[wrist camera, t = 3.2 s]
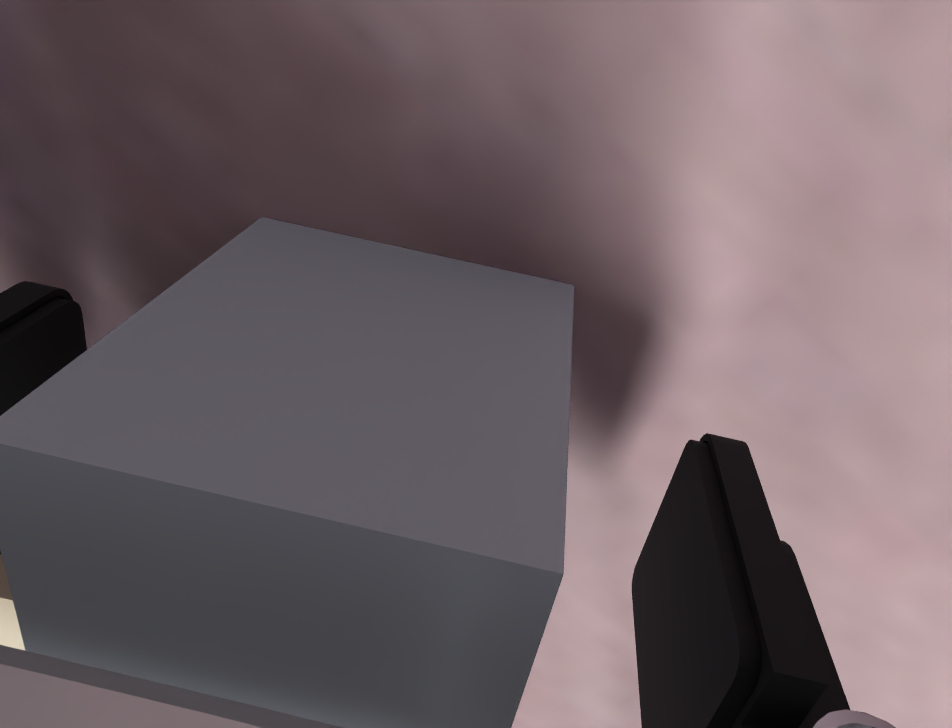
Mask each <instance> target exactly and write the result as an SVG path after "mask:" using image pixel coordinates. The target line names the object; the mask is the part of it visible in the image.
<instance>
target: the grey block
mask: <svg viewBox="0 0 952 728" xmlns="http://www.w3.org/2000/svg"><path fill="white" fill-rule="evenodd" d="M573 304H574V285H572V284H567V283H563V282H558V281H553V280H549V279H544V278H540V277H535V276H530V275H526V274H521V273H517V272H512V271H508V270H503V269H498V268H494V267H489V266H485V265H480V264H475V263H471V262H466V261H462V260H457V259H453V258H448V257H443V256H439V255H434V254H430V253H425V252H420V251H416V250H411V249H407V248H402V247H398V246H393V245H388V244H384V243H379V242H375V241H370V240H365V239H361V238H356V237H352V236H347V235H343V234H338V233H333V232H329V231H324V230H320V229H315V228H310V227H306V226H301V225H297V224H292V223H288V222H283V221H278V220H274V219H269V218H265V217H261V218H259V219H258V220H257V221H256V222H254V223H253V224H252V225H250V226H249V227H248V228H246V229H245V230H244V231H242V232H241V233H240V234H238V235H237V236H236V237H235V238H233V239H232V240H231V241H229V242H228V243H227V244H225V245H224V246H223V247H221V248H220V249H219V250H217V251H216V252H215V253H214V254H212V255H211V256H210V257H208V258H207V259H206V260H204V261H203V262H202V263H200V264H199V265H198V266H196V267H195V268H194V269H193V270H191V271H190V272H189V273H187V274H186V275H185V276H183V277H182V278H181V279H179V280H178V281H177V282H175V283H174V284H173V285H172V286H170V287H169V288H168V289H166V290H165V291H164V292H162V293H161V294H160V295H158V296H157V297H156V298H154V299H153V300H152V301H151V302H149V303H148V304H147V305H145V306H144V307H143V308H141V309H140V310H139V311H137V312H136V313H135V314H133V315H132V316H131V317H130V318H128V319H127V320H126V321H124V322H123V323H122V324H120V325H119V326H118V327H116V328H115V329H114V330H112V331H111V332H110V333H109V334H107V335H106V336H105V337H103V338H102V339H101V340H99V341H98V342H97V343H95V344H94V345H93V346H91V347H90V348H89V349H88V350H86V351H85V352H84V353H82V354H81V355H80V356H78V357H77V358H76V359H74V360H73V361H72V362H70V363H69V364H68V365H67V366H65V367H64V368H63V369H61V370H60V371H59V372H57V373H56V374H55V375H53V376H52V377H51V378H49V379H48V380H47V381H46V382H44V383H43V384H42V385H40V386H39V387H38V388H36V389H35V390H34V391H32V392H31V393H30V394H28V395H27V396H26V397H25V398H23V399H22V400H21V401H19V402H18V403H17V404H15V405H14V406H13V407H11V408H10V409H9V410H7V411H6V412H5V413H4V414H2V415H1V416H0V551H1V555H2V559H3V563H4V567H5V571H6V575H7V579H8V583H9V587H10V591H11V595H12V599H13V603H14V607H15V611H16V615H17V619H18V623H19V627H20V631H21V635H22V639H23V643H24V647H25V651H29V652H33V653H37V654H42V655H46V656H50V657H54V658H58V659H62V660H66V661H71V662H75V663H79V664H83V665H87V666H91V667H96V668H100V669H104V670H108V671H112V672H116V673H121V674H125V675H129V676H133V677H137V678H141V679H146V680H150V681H154V682H158V683H162V684H166V685H170V686H175V687H179V688H183V689H187V690H191V691H195V692H199V693H203V694H208V695H212V696H216V697H220V698H224V699H228V700H232V701H236V702H241V703H245V704H249V705H253V706H257V707H261V708H265V709H269V710H274V711H278V712H282V713H286V714H290V715H294V716H298V717H302V718H306V719H310V720H314V721H318V722H322V723H326V724H330V725H334V726H339V727H343V728H511V726H512V723H513V720H514V718H515V715H516V712H517V709H518V706H519V703H520V700H521V697H522V694H523V691H524V688H525V685H526V682H527V679H528V677H529V674H530V671H531V668H532V665H533V662H534V659H535V656H536V653H537V650H538V647H539V644H540V641H541V638H542V635H543V633H544V630H545V627H546V624H547V621H548V618H549V615H550V612H551V609H552V606H553V603H554V600H555V597H556V594H557V592H558V589H559V586H560V583H561V580H562V577H563V574H564V547H565V520H566V493H567V466H568V439H569V412H570V385H571V358H572V331H573Z"/></svg>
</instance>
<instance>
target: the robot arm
mask: <svg viewBox="0 0 952 728" xmlns="http://www.w3.org/2000/svg"><path fill="white" fill-rule="evenodd" d="M86 350H87V347H86V339H85V331H84V324H83V316H82V311H81V307H80V306H79V304H78V303H76V302H75V301H73V299H72V297H71V295H70V294H69V292H67V291H66V290H64V289H60V288H56V287H51V286H47V285H42V284H38V283H33V282H26V281H24V282H21V283H18V284H16V285H14V286H13V287H11V288H9V289H7V290H5V291H3V292H2V293H0V416H1V415H2V414H4V413H5V412H6V411H7V410H9V409H10V408H11V407H13V406H14V405H15V404H17V403H18V402H19V401H21V400H22V399H23V398H25V397H26V396H27V395H28V394H30V393H31V392H32V391H34V390H35V389H36V388H38V387H39V386H40V385H42V384H43V383H44V382H46V381H47V380H48V379H49V378H51V377H52V376H53V375H55V374H56V373H57V372H59V371H60V370H61V369H63V368H64V367H65V366H67V365H68V364H69V363H70V362H72V361H73V360H74V359H76V358H77V357H78V356H80V355H81V354H82V353H84V352H85V351H86ZM0 555H1V551H0ZM632 600H633V613H634V627H635V640H636V654H637V668H638V681H639V695H640V708H641V722H642V728H896V727H894V726H893V725H891V724H890V723H888V722H887V721H884V720H882V719H879V718H877V717H875V716H872V715H870V714H867V713H864V712H858V711H852V710H850V708H849V705H848V702H847V699H846V696H845V694H844V691H843V688H842V685H841V682H840V680H839V677H838V674H837V671H836V668H835V666H834V663H833V660H832V657H831V654H830V652H829V649H828V646H827V643H826V640H825V638H824V635H823V632H822V629H821V626H820V624H819V621H818V618H817V615H816V612H815V610H814V607H813V604H812V601H811V598H810V596H809V593H808V590H807V587H806V584H805V582H804V579H803V576H802V573H801V570H800V568H799V565H798V562H797V559H796V556H795V554H794V552H793V550H792V548H791V546H790V545H788V544H787V543H786V542H784V541H780V539H779V536H778V533H777V530H776V527H775V524H774V521H773V518H772V515H771V513H770V510H769V507H768V504H767V501H766V498H765V495H764V492H763V489H762V486H761V483H760V480H759V477H758V474H757V471H756V468H755V465H754V462H753V460H752V457H751V454H750V451H749V448H748V446H747V444H746V443H745V442H743V441H739V440H734V439H730V438H725V437H721V436H717V435H712V434H708V433H707V434H705V435H703V437H702V438H701V439H700V441H694V440H689V441H688V443H687V444H686V446H685V448H684V450H683V453H682V455H681V457H680V460H679V462H678V465H677V467H676V469H675V472H674V474H673V477H672V479H671V482H670V484H669V486H668V489H667V491H666V494H665V496H664V498H663V501H662V503H661V506H660V508H659V511H658V513H657V515H656V518H655V520H654V523H653V525H652V527H651V530H650V532H649V535H648V537H647V539H646V542H645V544H644V547H643V549H642V552H641V554H640V556H639V559H638V561H637V564H636V566H635V569H634V574H633V579H632ZM0 728H343V727H339V726H334V725H330V724H326V723H322V722H318V721H314V720H310V719H306V718H302V717H298V716H294V715H290V714H286V713H282V712H278V711H274V710H269V709H265V708H261V707H257V706H253V705H249V704H245V703H241V702H236V701H232V700H228V699H224V698H220V697H216V696H212V695H208V694H203V693H199V692H195V691H191V690H187V689H183V688H179V687H175V686H170V685H166V684H162V683H158V682H154V681H150V680H146V679H141V678H137V677H133V676H129V675H125V674H121V673H116V672H112V671H108V670H104V669H100V668H96V667H91V666H87V665H83V664H79V663H75V662H71V661H66V660H62V659H58V658H54V657H50V656H46V655H42V654H37V653H33V652H29V651H25V650H20V649H16V648H12V647H8V646H3V645H0Z"/></svg>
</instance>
